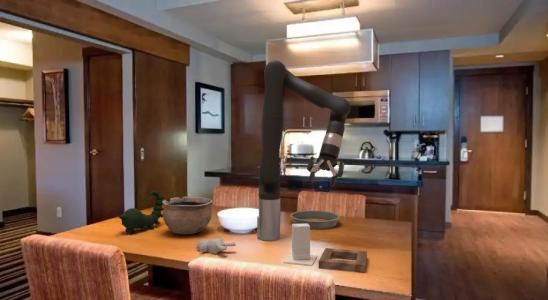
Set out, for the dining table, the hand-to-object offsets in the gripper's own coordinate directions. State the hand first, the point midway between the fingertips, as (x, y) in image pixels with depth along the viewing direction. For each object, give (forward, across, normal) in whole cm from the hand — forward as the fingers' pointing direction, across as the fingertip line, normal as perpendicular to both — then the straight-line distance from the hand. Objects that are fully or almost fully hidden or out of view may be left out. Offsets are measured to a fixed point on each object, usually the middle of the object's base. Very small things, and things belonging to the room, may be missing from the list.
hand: (321, 184), depth 148 cm
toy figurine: (+38, -80, 0) cm, 88 cm away
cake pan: (+10, -15, +44) cm, 48 cm away
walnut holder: (+27, +16, -2) cm, 31 cm away
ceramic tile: (+30, +2, -6) cm, 30 cm away
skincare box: (+30, +2, -6) cm, 30 cm away
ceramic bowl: (+32, -58, +6) cm, 67 cm away
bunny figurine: (+36, -30, -11) cm, 49 cm away
